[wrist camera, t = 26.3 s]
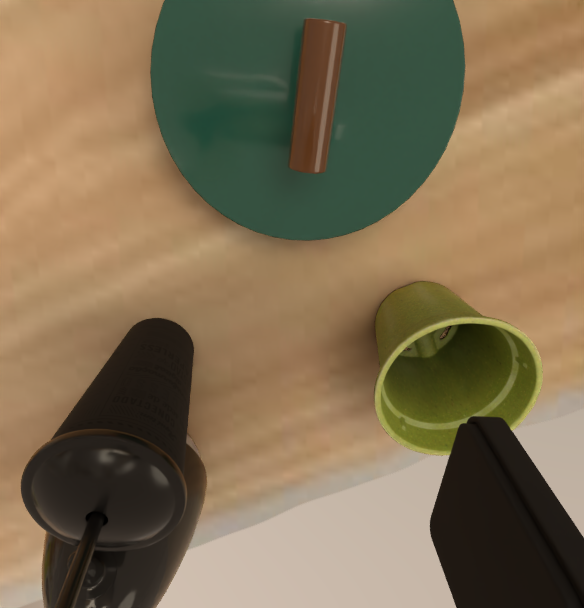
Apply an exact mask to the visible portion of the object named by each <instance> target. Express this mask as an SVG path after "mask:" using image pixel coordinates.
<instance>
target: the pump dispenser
mask: <svg viewBox="0 0 584 608" xmlns="http://www.w3.org/2000/svg"><path fill="white" fill-rule="evenodd" d="M184 480H185V483H186V487H187V502H186V508H185V511H184V514H183V517H182V519H181V520H180V522H179V523H178V525H177V526H176V527H175V529H174V530H173V531H172V532H171V533H170V534H169V535H167V536H166V537H165V538H163V539H162V540H160V541H158V542H156V543H154V544H152V545H150V546H147V547H144V548H141V549H137V550H132V551H125V552H101V551H94V552H93V555H92V558H91V561H90V563H89V566H88V569H87V572H86V575H85V578H84V581H83V583H82V586H81V589H80V592H79V595H78V598H77V601H76V604H75V606H74V608H156V607H157V605H158V604H159V602H160V601H161V599H162V597H163V596H164V594H165V592H166V591H167V589H168V587H169V585H170V584H171V582H172V580H173V578H174V576H175V574H176V572H177V570H178V568H179V566H180V564H181V562H182V560H183V557H184V556H185V553H186V551H187V549H188V547H189V544H190V542H191V539H192V537H193V534H194V532H195V529H196V526H197V523H198V520H199V517H200V514H201V511H202V508H203V504H204V500H205V495H206V489H207V475H206V470H205V467H204V464H203V462H202V460H201V457H200V454H199V452H198V449H197V447H196V445H195V443H194V442H193V440H192V439H191V438H190V436H189V435H188V434H187V440H186V452H185V465H184ZM77 548H78V547H77V546H74V545H71V544H69V543H66V542H64V541H62V540H60V539H58V538H56V537H55V536H53V535H51V534H50V533H48V532H47V531H46V534H45V542H44V550H43V561H42V595H43V602H44V608H55V606H56V603H57V601H58V598H59V595H60V593H61V590H62V588H63V585H64V582H65V580H66V577H67V575H68V572H69V569H70V567H71V564H72V561H73V559H74V556H75V554H76V551H77Z"/></svg>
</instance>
